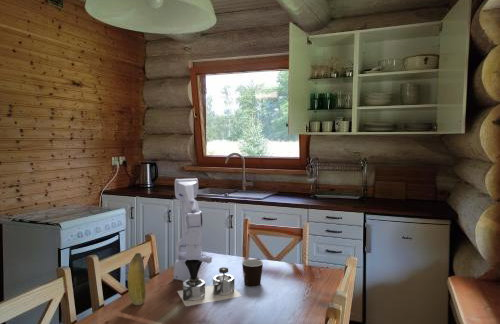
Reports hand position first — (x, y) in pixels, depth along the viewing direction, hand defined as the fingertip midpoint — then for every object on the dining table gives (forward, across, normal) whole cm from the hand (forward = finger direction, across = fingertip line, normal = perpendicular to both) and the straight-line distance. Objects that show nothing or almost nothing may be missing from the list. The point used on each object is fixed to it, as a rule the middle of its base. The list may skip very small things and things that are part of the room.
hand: (194, 278), depth 145 cm
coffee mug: (+8, +15, +22) cm, 28 cm away
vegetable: (+8, -16, -14) cm, 23 cm away
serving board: (+8, +4, +4) cm, 10 cm away
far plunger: (+3, +8, +9) cm, 12 cm away
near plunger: (+5, 0, 0) cm, 5 cm away
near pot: (+7, 0, -1) cm, 7 cm away
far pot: (+7, +8, +8) cm, 13 cm away
